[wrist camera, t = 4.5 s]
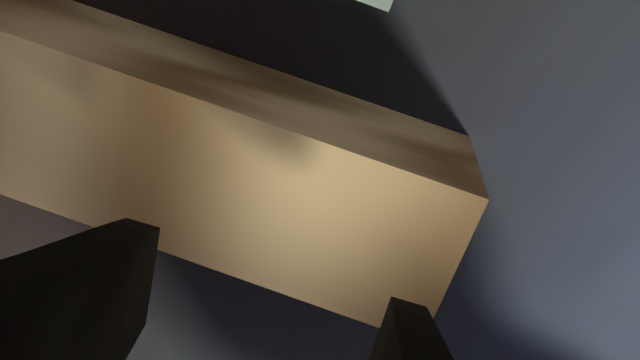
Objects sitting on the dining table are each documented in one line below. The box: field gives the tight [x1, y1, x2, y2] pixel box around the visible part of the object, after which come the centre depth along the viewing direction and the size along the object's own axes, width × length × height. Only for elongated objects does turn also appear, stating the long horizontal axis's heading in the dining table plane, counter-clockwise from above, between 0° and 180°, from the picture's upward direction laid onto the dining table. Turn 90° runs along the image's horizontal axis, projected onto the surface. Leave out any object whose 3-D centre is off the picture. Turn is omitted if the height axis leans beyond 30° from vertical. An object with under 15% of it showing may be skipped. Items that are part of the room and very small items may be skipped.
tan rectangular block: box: [0, 0, 489, 328], centre depth 16 cm, size 14×4×5 cm, turn 73°
